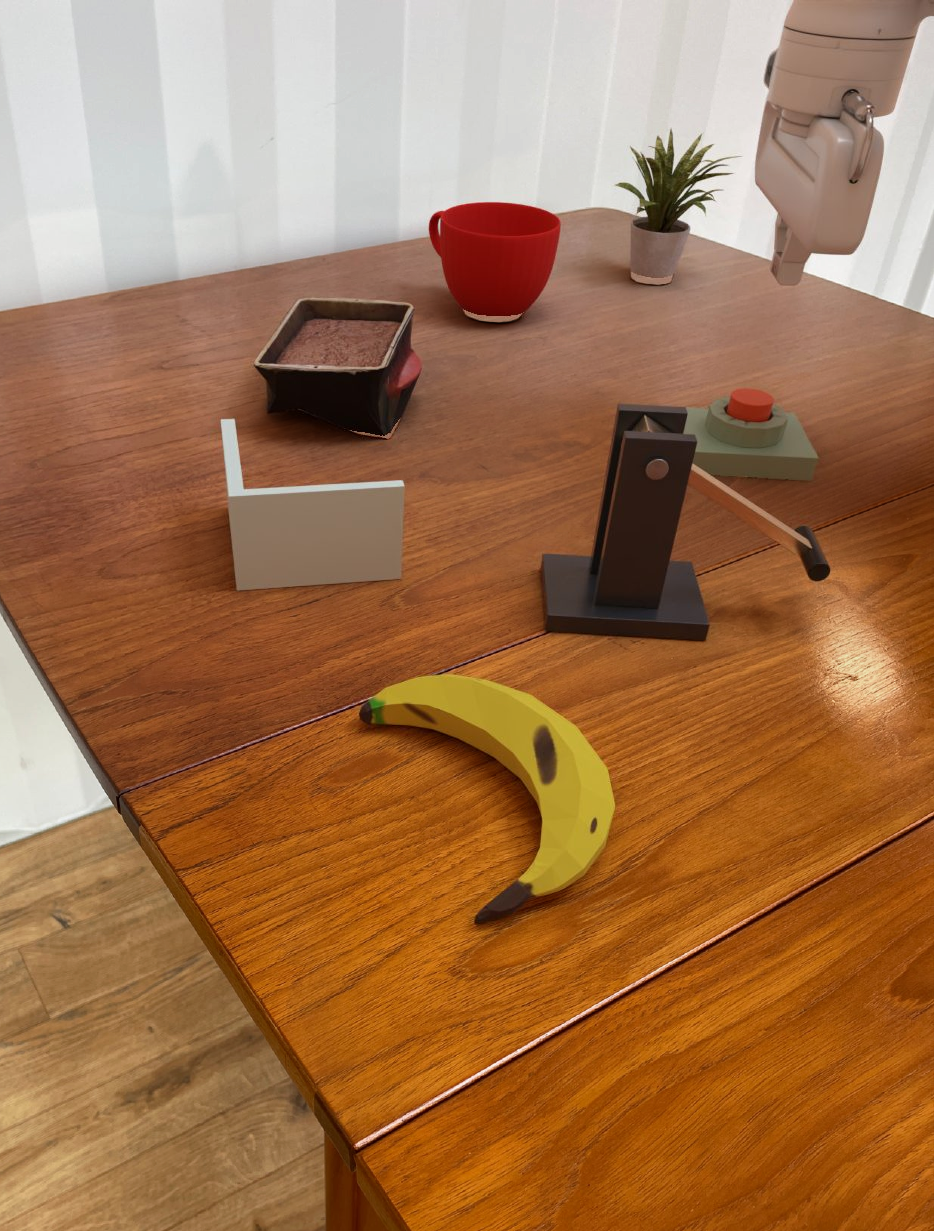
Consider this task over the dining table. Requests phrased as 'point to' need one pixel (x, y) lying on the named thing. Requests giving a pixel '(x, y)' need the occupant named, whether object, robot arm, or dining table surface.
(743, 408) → the power button
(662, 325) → the dining table surface
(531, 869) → the banana
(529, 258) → the ceramic cup
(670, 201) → the house plant
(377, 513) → the right angle wall
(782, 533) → the lever switch
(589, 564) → the hinged bracket stand
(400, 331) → the baking dish
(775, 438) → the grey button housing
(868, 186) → the robot arm
